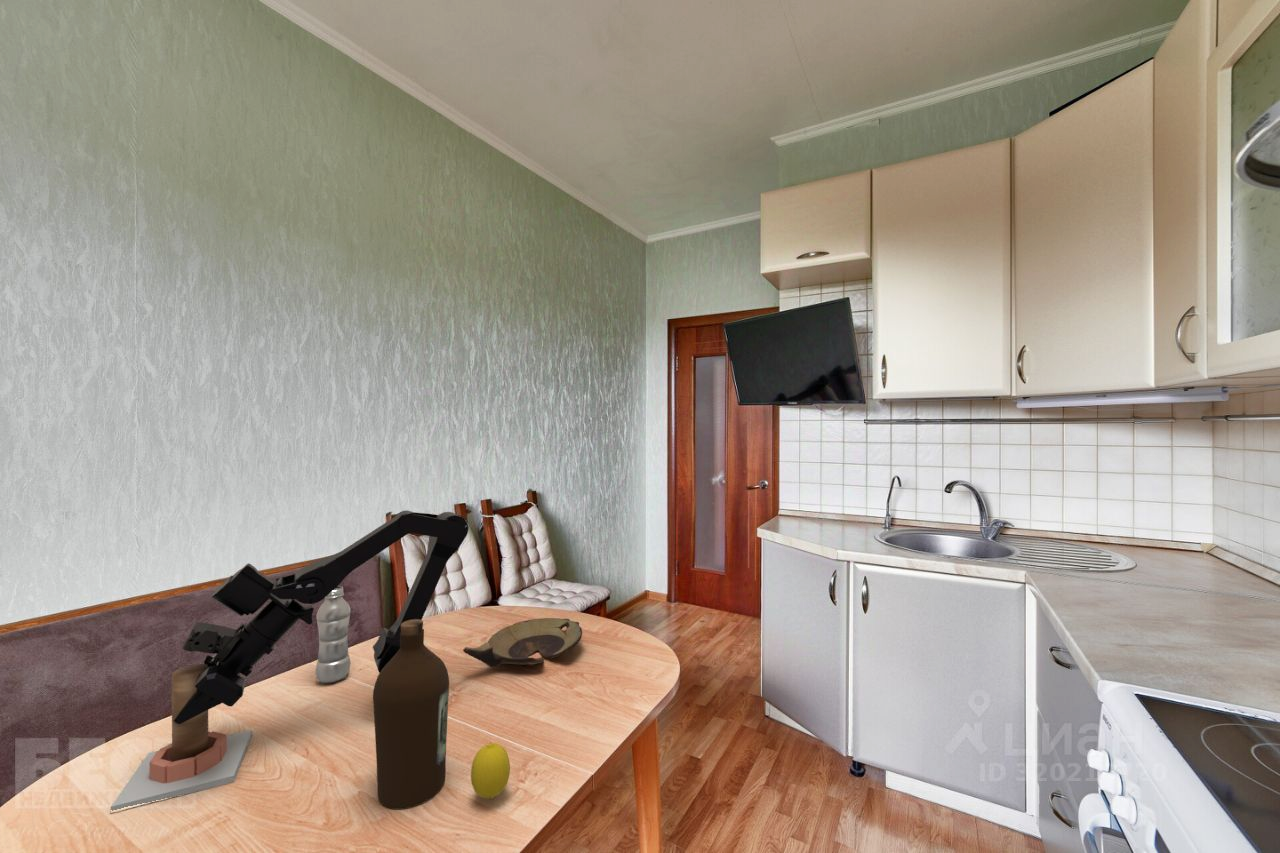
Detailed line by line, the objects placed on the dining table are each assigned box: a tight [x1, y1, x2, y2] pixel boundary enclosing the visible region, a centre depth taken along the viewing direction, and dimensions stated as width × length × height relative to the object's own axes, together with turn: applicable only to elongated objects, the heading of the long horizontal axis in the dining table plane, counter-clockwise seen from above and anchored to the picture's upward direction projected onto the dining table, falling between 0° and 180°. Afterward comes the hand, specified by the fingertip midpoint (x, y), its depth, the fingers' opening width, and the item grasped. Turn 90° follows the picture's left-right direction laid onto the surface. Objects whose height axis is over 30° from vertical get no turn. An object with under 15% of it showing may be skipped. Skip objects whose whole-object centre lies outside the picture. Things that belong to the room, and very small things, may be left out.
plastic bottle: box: [315, 585, 352, 684], centre depth 112 cm, size 6×7×20 cm
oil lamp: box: [462, 617, 583, 668], centre depth 123 cm, size 22×30×8 cm
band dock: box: [110, 729, 253, 811], centre depth 82 cm, size 14×14×4 cm
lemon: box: [470, 742, 511, 800], centre depth 75 cm, size 6×6×8 cm
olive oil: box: [372, 619, 450, 810], centre depth 78 cm, size 11×11×25 cm
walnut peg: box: [171, 663, 209, 762], centre depth 82 cm, size 4×4×14 cm
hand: (179, 715), depth 82 cm, fingers closed on walnut peg, 4 cm apart
